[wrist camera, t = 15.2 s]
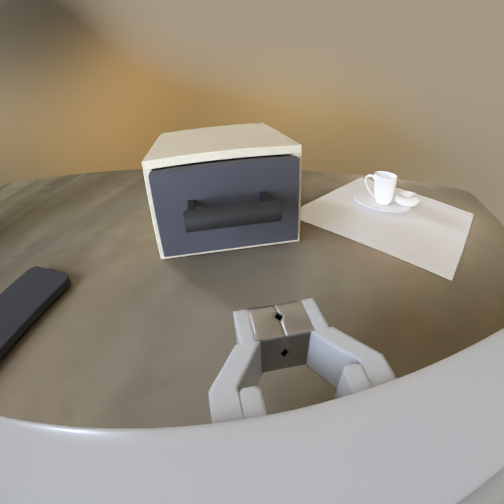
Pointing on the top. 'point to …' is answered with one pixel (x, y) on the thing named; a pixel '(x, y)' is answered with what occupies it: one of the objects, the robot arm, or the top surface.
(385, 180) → the teacup and saucer
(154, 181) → the drawer
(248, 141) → the cabinet
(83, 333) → the top surface
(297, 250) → the top surface
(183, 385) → the top surface
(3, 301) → the phone
